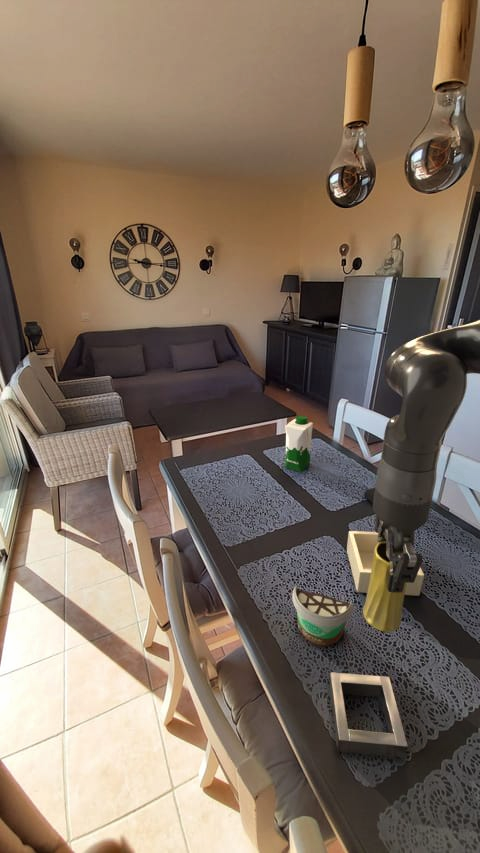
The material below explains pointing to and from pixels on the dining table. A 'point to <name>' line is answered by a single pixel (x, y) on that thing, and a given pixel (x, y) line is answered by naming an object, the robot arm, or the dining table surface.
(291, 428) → the milk carton
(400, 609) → the vase
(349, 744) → the grey square frame
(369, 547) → the cream wooden open box
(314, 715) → the dining table surface
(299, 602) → the food container
